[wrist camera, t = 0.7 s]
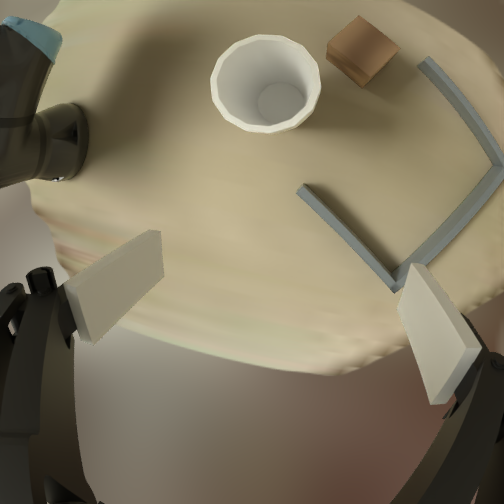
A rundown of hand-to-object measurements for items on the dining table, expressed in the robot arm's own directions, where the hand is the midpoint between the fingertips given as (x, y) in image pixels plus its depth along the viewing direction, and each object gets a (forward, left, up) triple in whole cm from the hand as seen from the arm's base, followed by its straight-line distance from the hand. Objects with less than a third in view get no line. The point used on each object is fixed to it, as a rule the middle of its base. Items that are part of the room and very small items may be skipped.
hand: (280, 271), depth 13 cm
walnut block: (-7, +19, -24) cm, 31 cm away
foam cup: (-10, +7, -24) cm, 27 cm away
